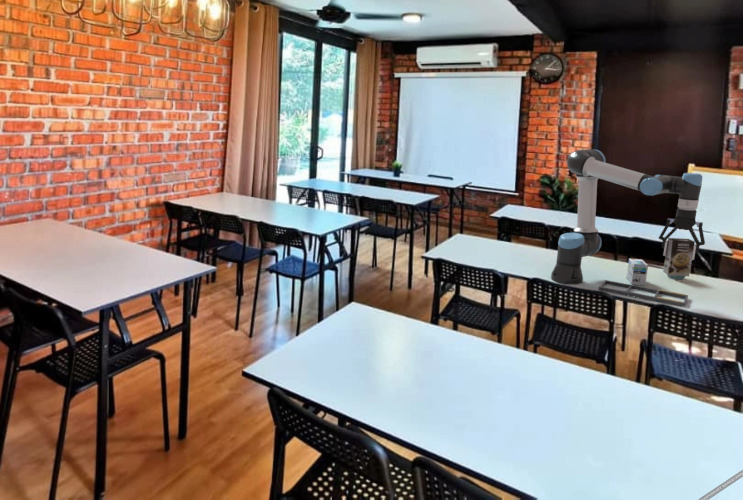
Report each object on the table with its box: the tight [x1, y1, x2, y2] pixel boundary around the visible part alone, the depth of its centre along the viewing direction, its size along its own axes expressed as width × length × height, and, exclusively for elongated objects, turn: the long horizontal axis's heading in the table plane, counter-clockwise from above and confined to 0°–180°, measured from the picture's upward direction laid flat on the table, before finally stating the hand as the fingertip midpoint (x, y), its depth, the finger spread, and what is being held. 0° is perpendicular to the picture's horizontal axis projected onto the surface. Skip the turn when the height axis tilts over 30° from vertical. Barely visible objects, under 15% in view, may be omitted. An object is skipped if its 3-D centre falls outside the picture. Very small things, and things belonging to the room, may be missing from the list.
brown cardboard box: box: [662, 237, 696, 277], centre depth 238 cm, size 9×6×16 cm
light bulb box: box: [625, 258, 649, 286], centre depth 267 cm, size 11×7×11 cm, turn 168°
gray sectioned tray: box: [598, 279, 689, 308], centre depth 249 cm, size 36×13×2 cm, turn 56°
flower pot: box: [666, 263, 692, 280], centre depth 274 cm, size 9×9×9 cm
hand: (678, 257), depth 238 cm, fingers closed on brown cardboard box, 10 cm apart
